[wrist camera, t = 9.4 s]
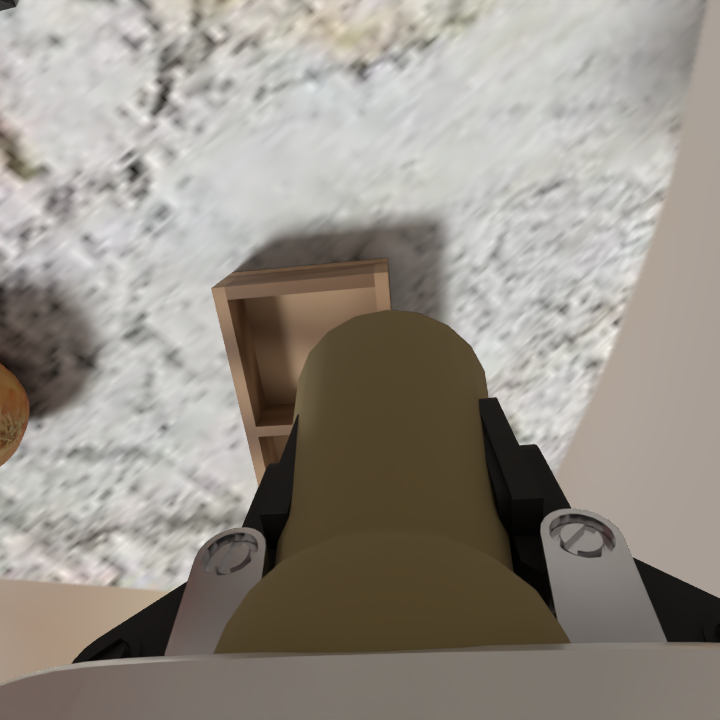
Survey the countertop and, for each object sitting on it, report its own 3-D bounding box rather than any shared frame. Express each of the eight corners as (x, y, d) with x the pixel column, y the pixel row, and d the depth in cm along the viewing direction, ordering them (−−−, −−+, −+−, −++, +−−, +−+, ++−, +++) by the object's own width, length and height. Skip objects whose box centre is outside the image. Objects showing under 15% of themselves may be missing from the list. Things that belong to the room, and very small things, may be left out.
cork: (408, 267, 13) (479, 627, 3) (526, 415, 14) (847, 994, 4) (257, 387, 15) (-39, 877, 5) (377, 508, 16) (357, 1074, 6)
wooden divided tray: (232, 272, 31) (211, 288, 28) (387, 257, 30) (387, 272, 27) (283, 506, 39) (272, 544, 36) (406, 500, 39) (409, 538, 35)
